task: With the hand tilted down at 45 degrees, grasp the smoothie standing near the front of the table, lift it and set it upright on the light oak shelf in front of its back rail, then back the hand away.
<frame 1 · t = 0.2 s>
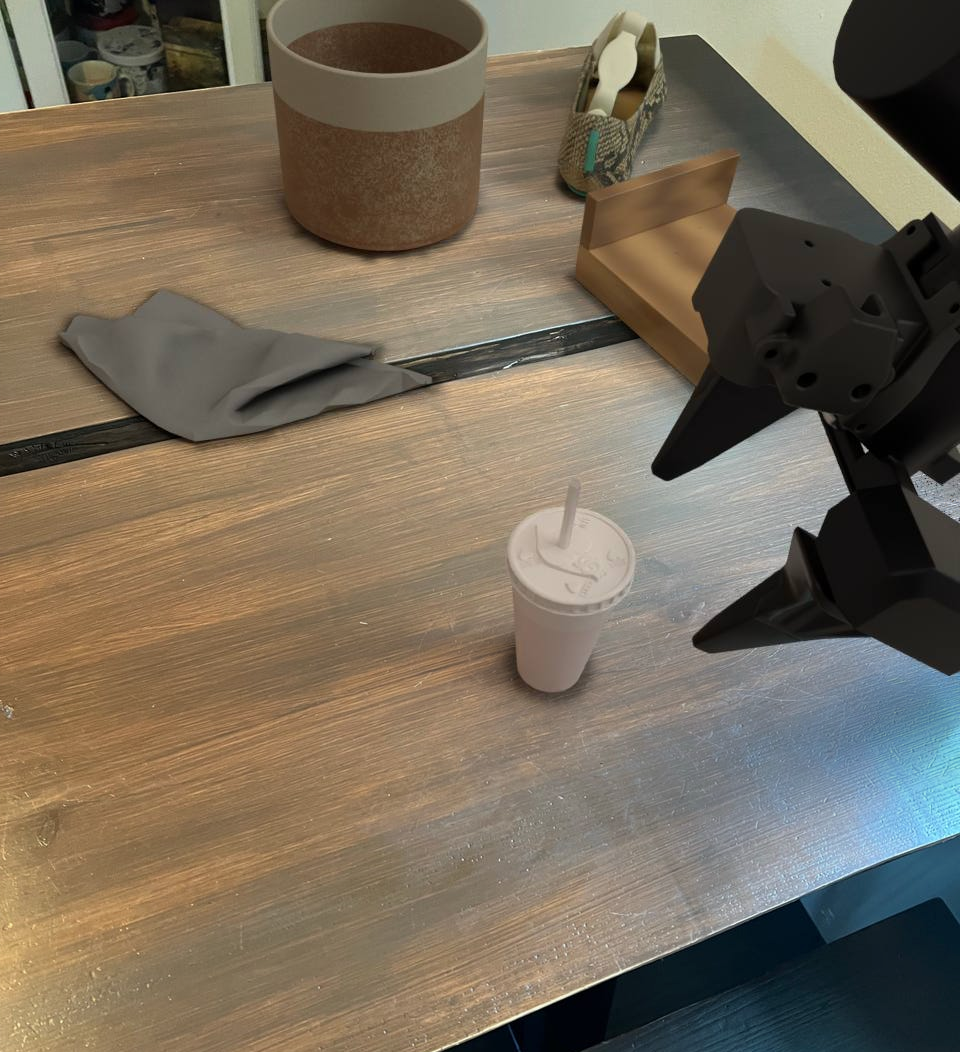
hand: (677, 555, 41), 15 cm above the table, tool tilted 35°, fingers open, 9 cm apart
planter: (382, 205, 82), on the table
smoothie: (549, 666, 56), on the table
ballet flat: (610, 137, 91), on the table
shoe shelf: (724, 320, 76), on the table
cloth: (231, 379, 69), on the table
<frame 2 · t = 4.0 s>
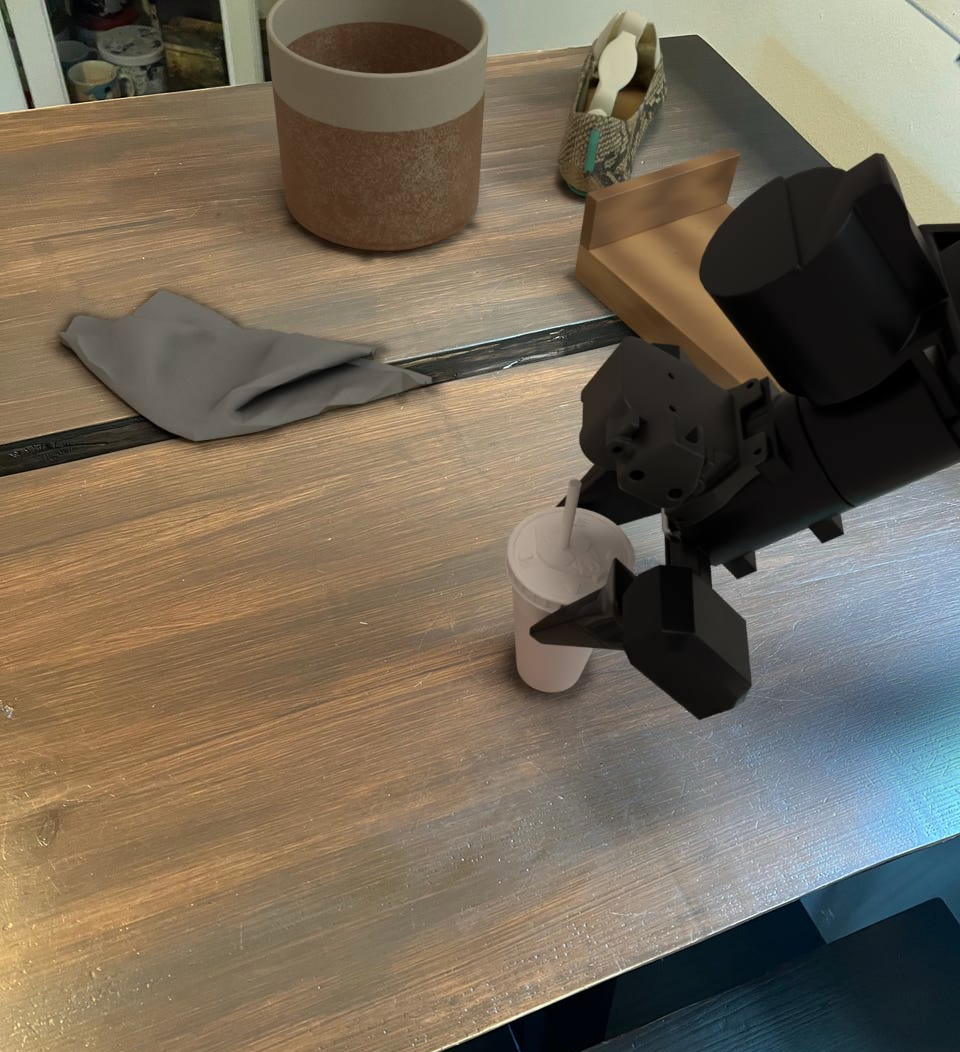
hand: (537, 584, 50), 7 cm above the table, tool tilted 45°, fingers closed on smoothie, 6 cm apart
smoothie: (548, 667, 56), on the table, touching gripper
everything else where it was.
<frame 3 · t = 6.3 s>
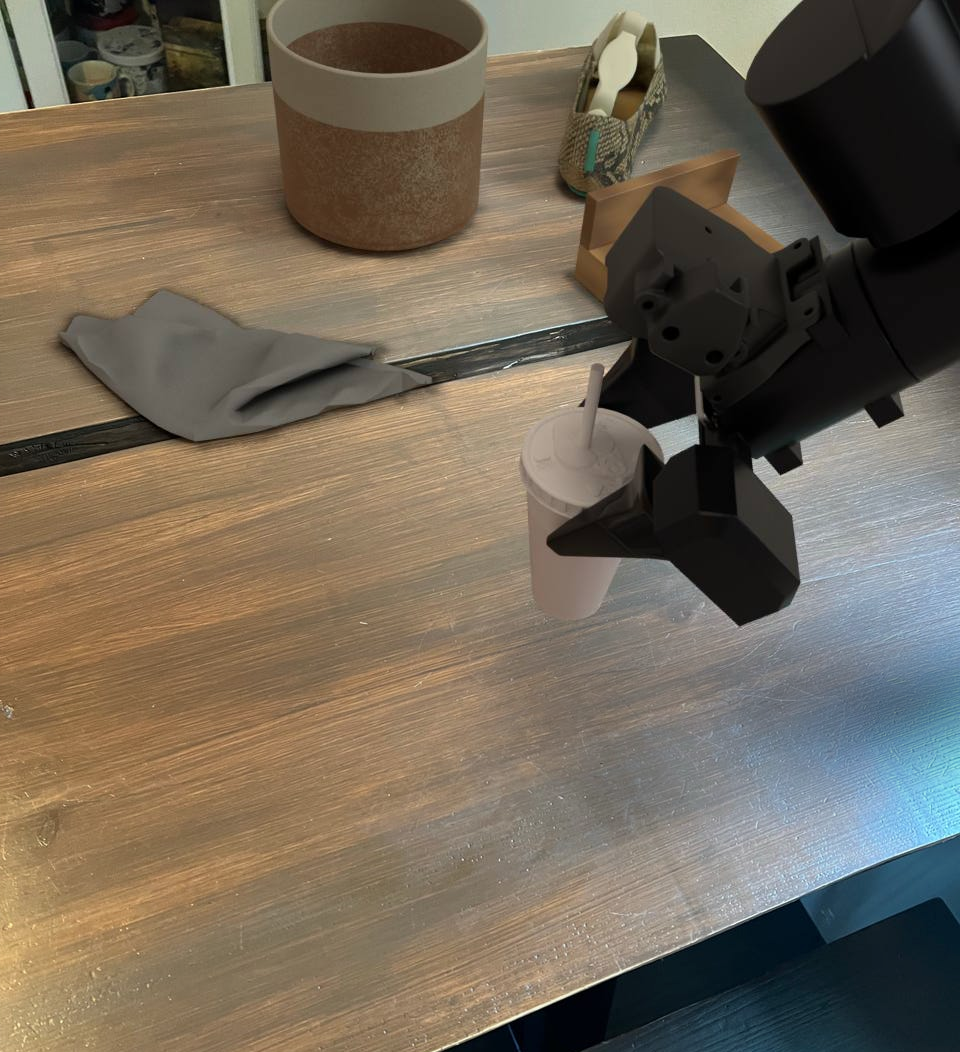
hand: (555, 493, 46), 13 cm above the table, tool tilted 45°, fingers closed on smoothie, 6 cm apart
smoothie: (567, 594, 51), point 6 cm above the table, touching gripper
everything else where it was.
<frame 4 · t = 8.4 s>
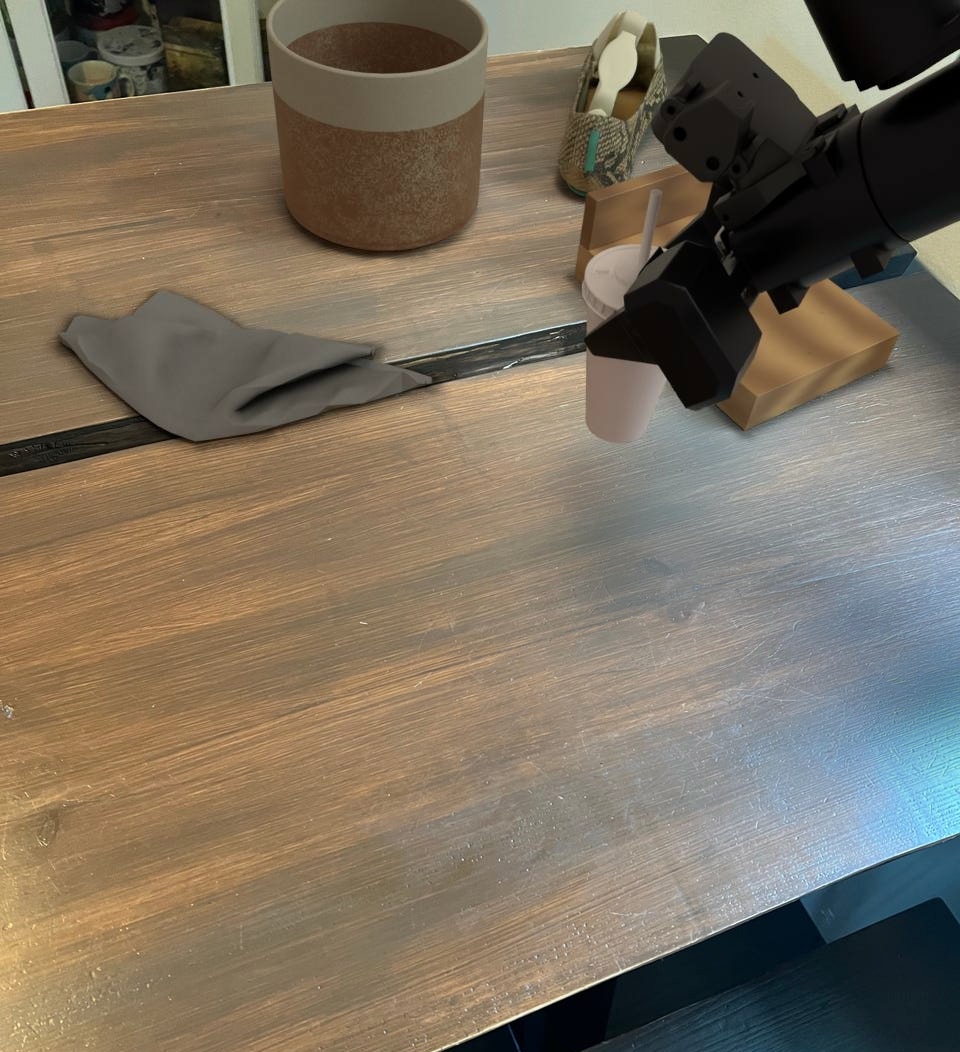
hand: (614, 313, 54), 13 cm above the table, tool tilted 45°, fingers closed on smoothie, 6 cm apart
smoothie: (615, 424, 59), point 6 cm above the table, touching gripper
everything else where it was.
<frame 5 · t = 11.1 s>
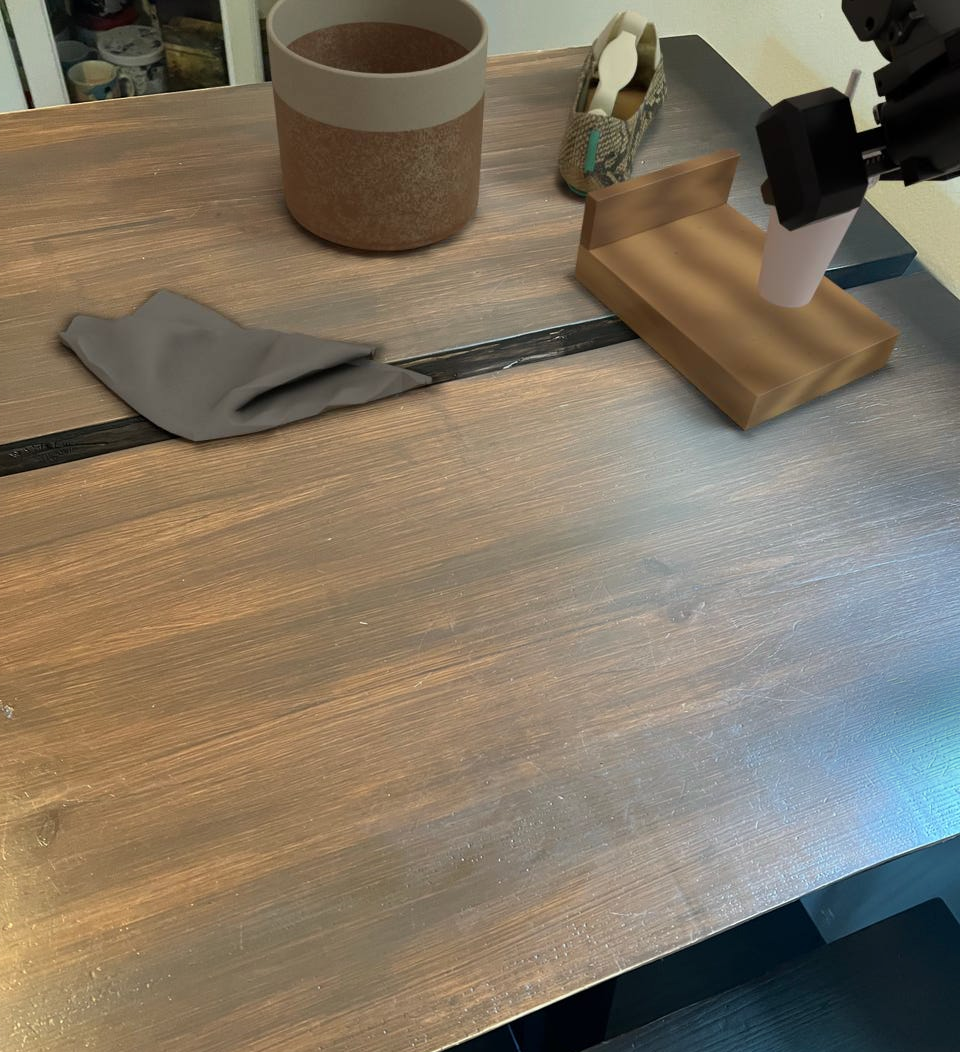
hand: (803, 182, 63), 13 cm above the table, tool tilted 45°, fingers closed on smoothie, 6 cm apart
smoothie: (783, 293, 68), point 6 cm above the table, touching gripper
everything else where it was.
when the fingers open (10 cm above the table, at t = 13.1 s): smoothie stays where it is, resting on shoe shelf.
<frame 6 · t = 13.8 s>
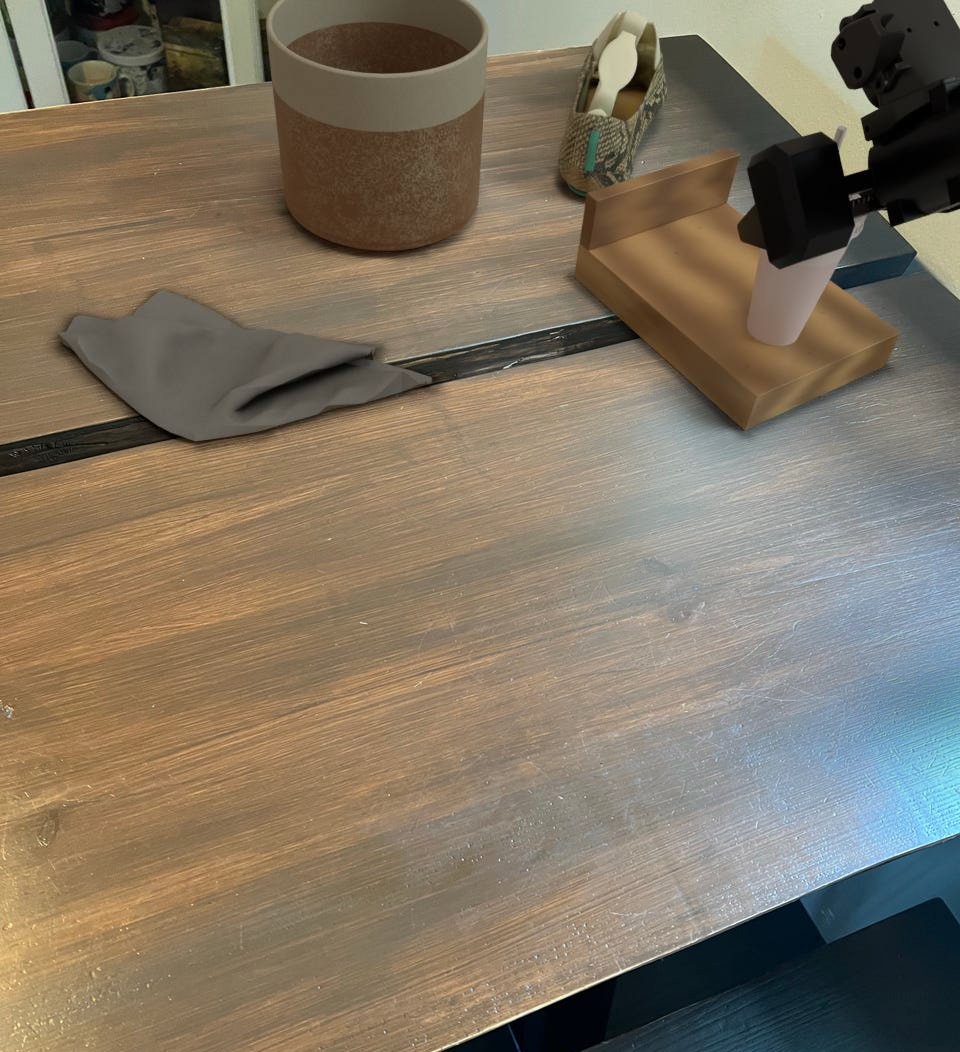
hand: (795, 215, 65), 11 cm above the table, tool tilted 45°, fingers open, 9 cm apart
smoothie: (771, 331, 71), point 3 cm above the table, touching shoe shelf
everything else where it was.
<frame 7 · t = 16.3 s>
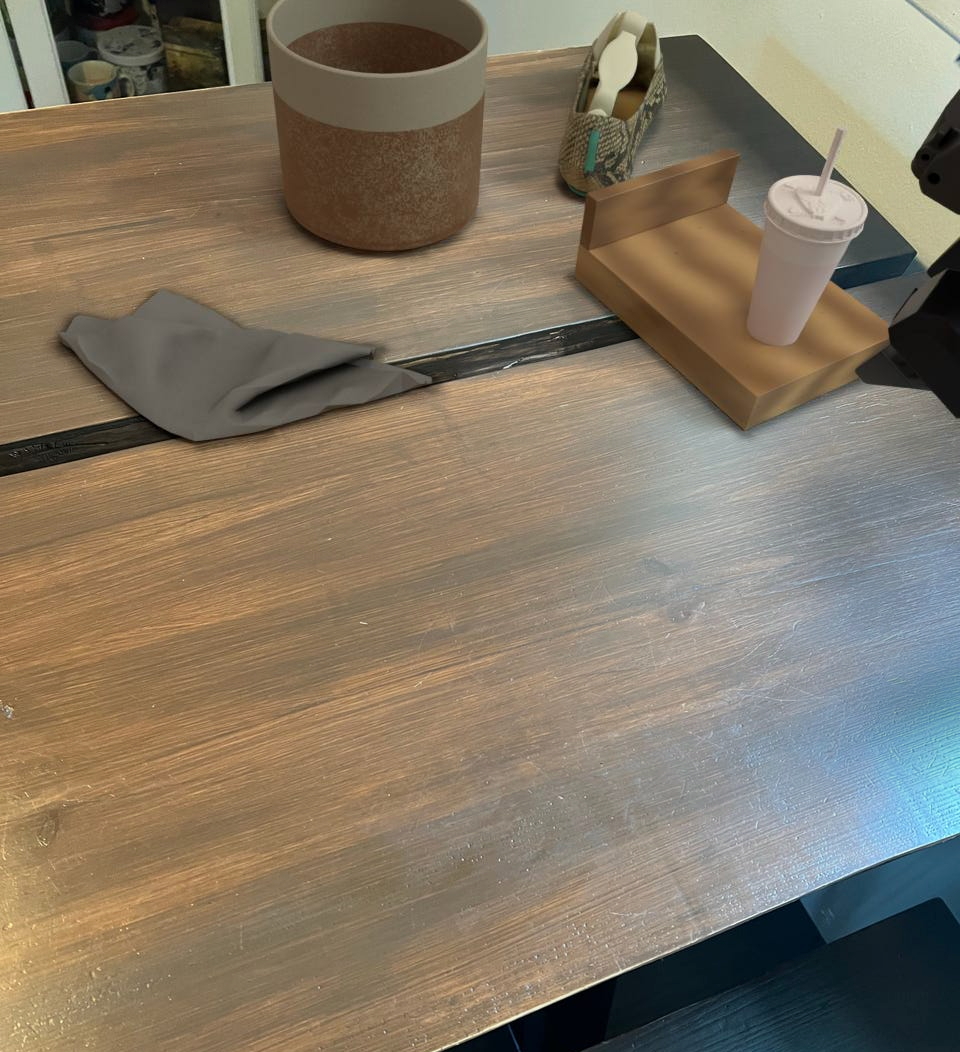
hand: (897, 324, 58), 11 cm above the table, tool tilted 30°, fingers open, 9 cm apart
nothing on the table moved.
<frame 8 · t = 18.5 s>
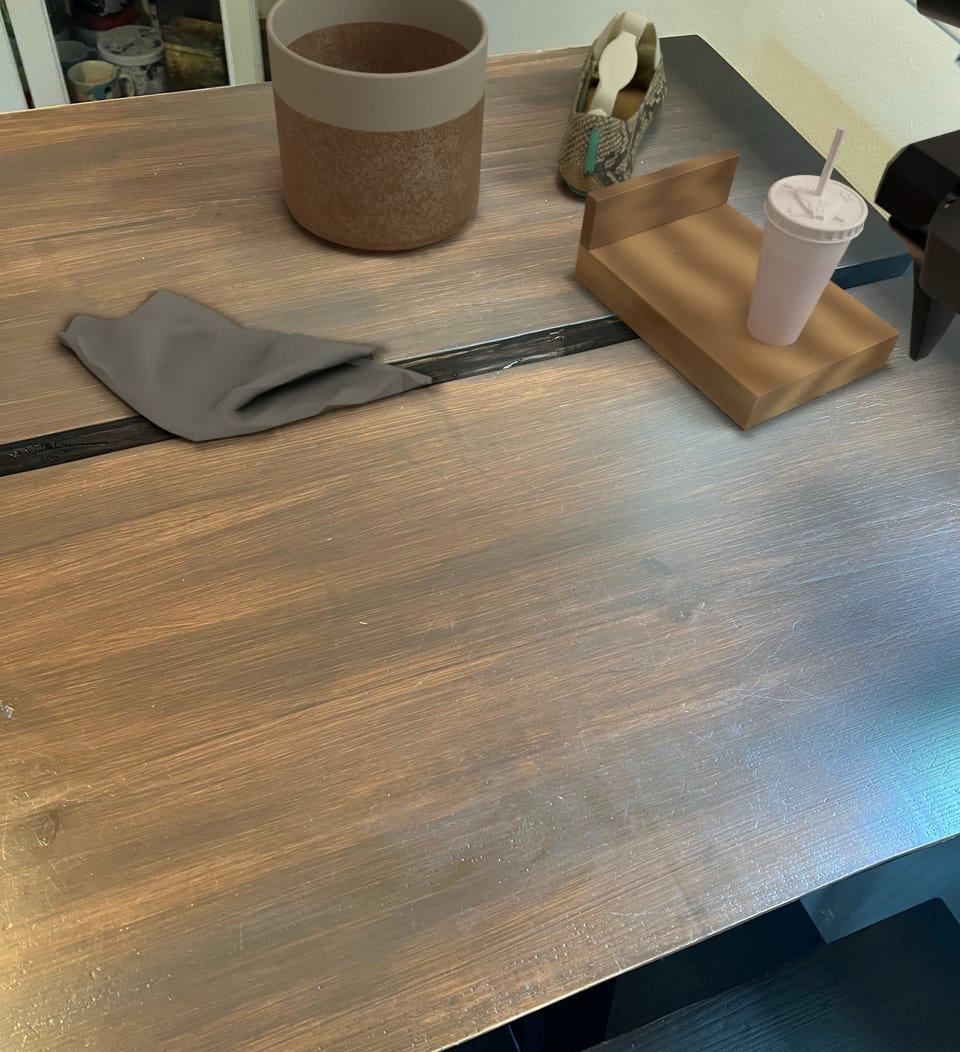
nothing on the table moved.
at the end: smoothie inside the target area on the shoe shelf (1.6 cm from its centre), point 2.8 cm above the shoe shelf's base; smoothie tilted 0°; the gripper is holding nothing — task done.
